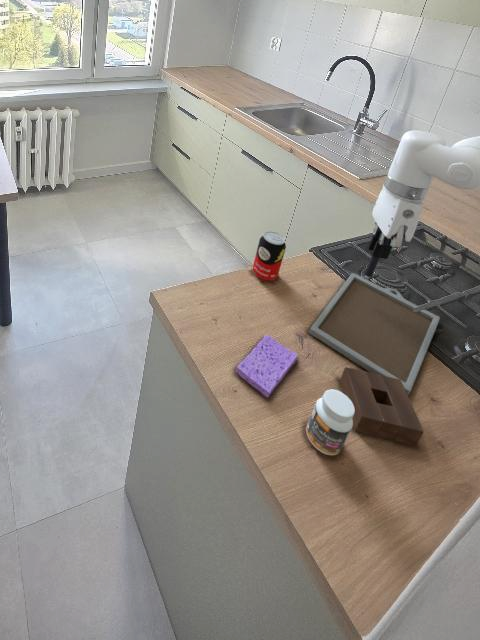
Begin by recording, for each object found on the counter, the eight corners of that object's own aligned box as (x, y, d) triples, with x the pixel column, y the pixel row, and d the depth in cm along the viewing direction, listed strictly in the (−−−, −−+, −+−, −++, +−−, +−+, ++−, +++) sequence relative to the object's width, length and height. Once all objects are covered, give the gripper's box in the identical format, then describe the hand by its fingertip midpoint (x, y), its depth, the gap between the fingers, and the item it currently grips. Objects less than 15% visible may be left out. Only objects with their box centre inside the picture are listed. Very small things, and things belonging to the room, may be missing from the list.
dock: (393, 392, 82) (400, 379, 80) (416, 446, 73) (424, 431, 71) (339, 380, 84) (345, 366, 82) (355, 430, 75) (361, 416, 73)
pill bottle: (303, 444, 72) (318, 408, 68) (307, 415, 77) (321, 379, 73) (340, 464, 70) (358, 427, 66) (341, 433, 74) (358, 397, 70)
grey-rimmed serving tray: (309, 328, 93) (355, 267, 112) (308, 333, 94) (354, 272, 113) (410, 392, 80) (443, 311, 99) (407, 397, 81) (440, 316, 100)
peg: (369, 276, 101) (387, 232, 96) (371, 280, 99) (390, 237, 94) (362, 274, 101) (379, 231, 96) (364, 279, 100) (382, 235, 94)
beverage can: (249, 264, 114) (258, 228, 109) (273, 267, 113) (283, 231, 108) (254, 280, 108) (264, 244, 103) (279, 284, 107) (290, 247, 102)
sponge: (234, 372, 84) (236, 366, 83) (265, 338, 92) (267, 332, 91) (267, 399, 79) (269, 392, 79) (296, 360, 87) (298, 354, 87)
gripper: (443, 210, 82) (409, 281, 90) (408, 172, 96) (382, 236, 104) (401, 203, 83) (371, 273, 91) (373, 166, 97) (349, 230, 105)
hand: (377, 253), depth 97 cm, fingers closed on peg, 1 cm apart
